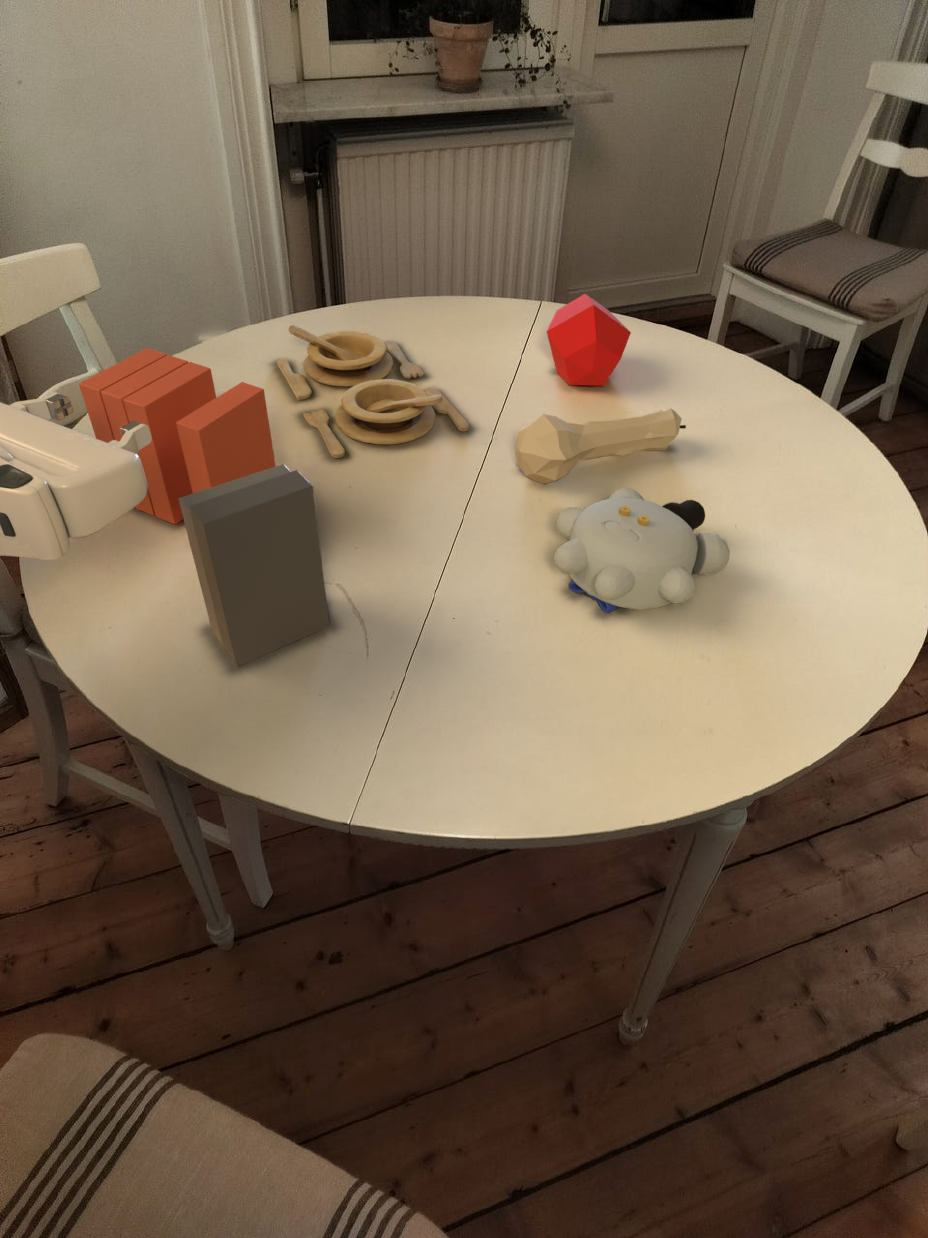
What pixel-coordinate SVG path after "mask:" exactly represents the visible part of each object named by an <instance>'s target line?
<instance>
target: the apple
mask: <svg viewBox="0 0 928 1238" xmlns="http://www.w3.org/2000/svg"><path fill="white" fill-rule="evenodd" d="M631 334H632V332H631V331H630V330H629V329H628V328H627V327H626V326H625V325H624V324H623V323H622V322H621V321H620V320H619V319H618V318H617V317H616V316H615V315H614V314H613V313H612V312H611V311H610V310H609V309H607V308H606V307H605V306H603V304H600V303H599V302H598V301H596V300H595V299H594V298H593V297H591V296H589V295H588V294H586V293H584V294H581V296H579V297H577V298H575V299H573V300H572V301H570V302H569V303H568V302H567V304H565V305H563V306H562V307H559V308H558V309H556V311H555V313H554V315H553V317H552V319H551V321H550V323H549V326H548V327H547V330H546V335H547V339H548V343H549V347H550V351H551V354H552V359H553V363H554V367H555V370H556V373H557V374H558V375H559V376H560V377H561V378H562V379H563V380H564V381H565V382H566V384H568V385H569V386H602V387H603V386H605V385H606V383H607V382H608V380H609V379H610V377H611V375H612V374H613V372H614V370H615V369H616V367H617V366H618V364H619V363H620V361H621V360H622V357H623V355H624V353H625V349H626V348H627V344H628V342H629V338H630V336H631Z"/></svg>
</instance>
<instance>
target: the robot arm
mask: <svg viewBox="0 0 928 1238" xmlns="http://www.w3.org/2000/svg"><path fill="white" fill-rule="evenodd" d="M71 402H72V401H71V398H70V397H69V396H67V395H65V394H62V393H59V392H57V391H53V392H51V393H50V394H47V395H45V396H43V397H41V398H33V399H27V400H26V399H25V400H19V401H15V402H13V403H11V404H6V403H4V402H1V401H0V557H15V558H16V557H18V558H26V559H27V558H28V559H33V560H39V561H40V560H41V561H47V562H48V561H55V560H58V559H60V558H62V557H63V556H65V555H66V554H68V553H69V552H70V551H71V548H72V545H71V542H70V539H81V538H84V537H85V538H86V537H88V536H91V535H93V534H95V533H97V532H99V531H101V530H103V529H104V528H106V527H107V526H109V525H111V524H112V523H114V522H115V521H117V520H119V519H120V518H122V517H123V516H125V515H126V514H127V513H129V512H130V511H132V510H133V509H134V508H135V507H136V506H137V505H138V504H139V503H141V502H142V501H143V500H144V498H145V497H146V494H147V490H148V483H147V479H146V476H145V472H144V469H143V465H142V462H141V459H140V458H139V456H138V452H139V450H140V449H142V448H144V447H145V446H147V445H148V444H150V443H151V441H152V436H151V432H150V428H149V426H147V425H145V424H142V423H139V422H136V421H131V422H130V423H129V424H126V425H124V426H123V427H121V428H120V429H121V433H122V436H123V437H122V438H121V440H120V441H119V442H118V441H116V440H112V441H110V442H109V443H106V442H103V441H101V440H98V439H96V437H92V436H90V435H87V434H85V433H83V432H80V431H77V430H75V429H72V428H69V427H66V426H64V425H62V424H58V423H56V422H54V421H51V420H55V421H58V422H60V421H62V420H64V419H65V418H66V417H69V416H71V415H72V414H73V413H74V406H73V405H72V403H71Z"/></svg>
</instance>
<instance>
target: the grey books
mask: <svg viewBox="0 0 928 1238" xmlns="http://www.w3.org/2000/svg"><path fill="white" fill-rule="evenodd" d="M314 493H315V492H314V485H313V484H312V483H311V482H310V481H309V480H308V479H307V478H306V477H305V476H304V475H303V474H302V473H301V472H300V471H299V469H295V470H293V471H291V470H290V469H289V468H288V467H287V466H286V465H285V464H284V463H282V464H278V465H275V467H272V468H269V469H266V470H263V471H260V472H257V473H254V474H251V475H248V476H245V477H242V478H239V479H236V480H233V481H230V482H227V483H224V484H221V485H218V486H215V487H212V488H209V489H206V490H202V491H199V492H196V493H193V494H190V495H187V496H184V497H181V498H179V503H180V507H181V511H182V515H183V519H182V520H183V522H184V526H185V530H186V534H187V538H188V543H189V545H190V550H191V553H192V558H193V561H194V565H195V569H196V573H197V577H198V581H199V585H200V589H201V593H202V597H203V601H204V604H205V609H206V612H207V617H208V621H209V623H210V629H211V631H212V633H213V635H214V636H215V637H216V639H217V641H218V642H219V643H220V645H221V646H222V647H223V649H224V650H225V652H226V654H227V655H228V656H229V658H230V659H231V660H232V662H233V664H234V666H235V667H240V666H242V665H244V664H247V663H249V662H252V661H254V660H256V659H258V658H260V657H263V656H265V655H267V654H270V653H272V652H275V651H277V650H279V649H281V648H284V647H286V646H288V645H291V644H292V643H295V642H298V641H300V640H302V639H305V638H307V637H309V636H311V635H314V634H316V633H318V632H320V631H323V630H325V629H328V628H330V619H329V611H328V604H327V603H328V602H327V596H326V585H325V578H324V570H323V561H322V553H321V552H322V551H321V545H320V544H321V543H320V536H319V535H320V534H319V528H318V527H319V525H318V519H317V510H316V501H315V494H314Z"/></svg>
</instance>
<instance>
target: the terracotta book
mask: <svg viewBox="0 0 928 1238" xmlns="http://www.w3.org/2000/svg"><path fill="white" fill-rule="evenodd" d="M267 407H268V406H267V401H266V395H265V389H264V388H262V387H259V386H256V385H253V384H249V383H247V382H244V381H241V382H239V383H238V384H236V385H234V386H233V387H231V388H230V389H228V390H227V391H225V392H223V393H221V394H220V395H218V396H216V398H215V399H213V400H212V401H210V402H208V403H207V404H205V405H204V406H202V407H200V408H199V409H197V410H195V411H194V412H192V413H191V414H189V415H187V416H186V417H184V418H182V419H181V420H179V421H178V422H176V424H177V429H178V433H179V437H180V441H181V445H182V450H183V454H184V458H185V462H186V466H187V471H188V475H189V479H190V483H191V487H192V492H193V493H196V492H199V491H202V490H206V489H209V488H212V487H215V486H218V485H221V484H224V483H227V482H230V481H233V480H236V479H239V478H242V477H245V476H248V475H251V474H254V473H257V472H260V471H263V470H266V469H269V468H272V467H275V466H276V461H275V454H274V448H273V446H274V445H273V441H272V435H271V426H270V420H269V415H268V408H267Z"/></svg>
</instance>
